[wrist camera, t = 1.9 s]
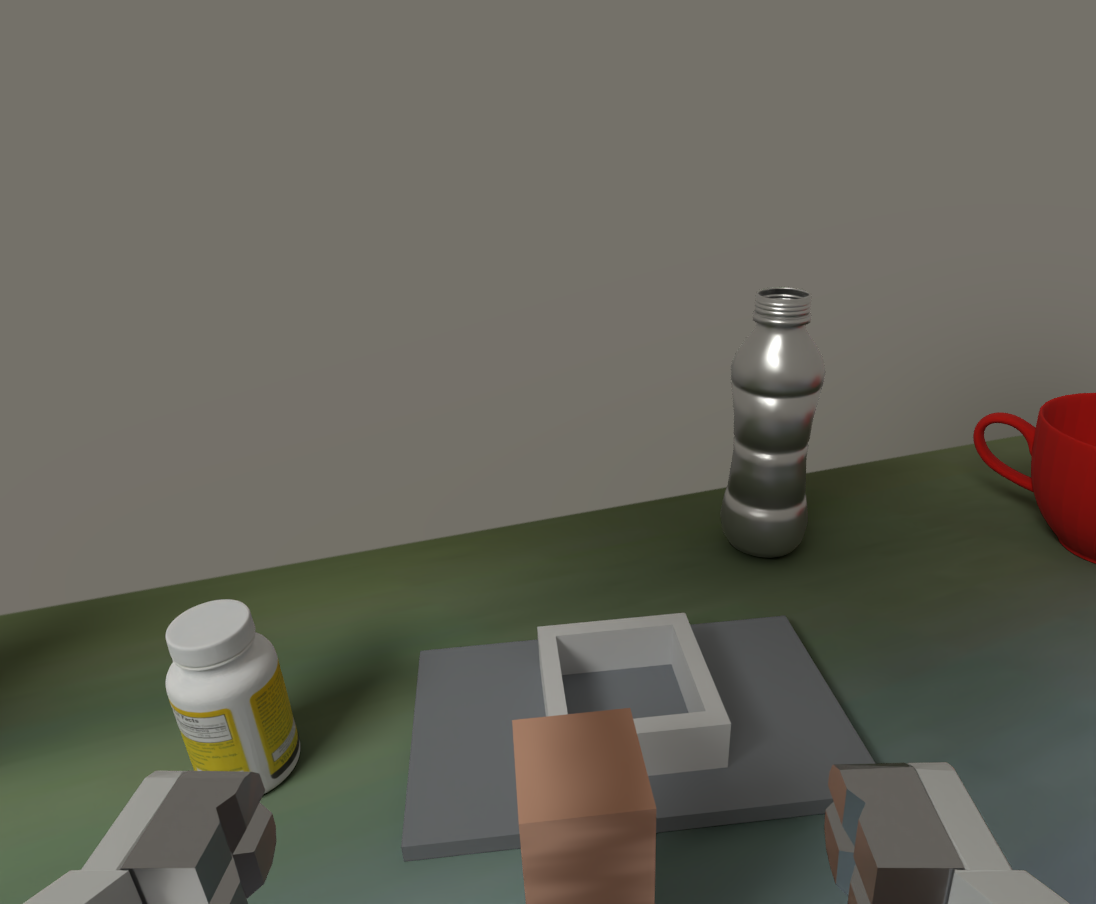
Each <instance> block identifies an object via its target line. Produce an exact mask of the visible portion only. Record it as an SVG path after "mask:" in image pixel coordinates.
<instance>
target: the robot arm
mask: <svg viewBox="0 0 1096 904" xmlns="http://www.w3.org/2000/svg"><path fill="white" fill-rule="evenodd" d="M828 787H829V790H830V793H831V795H832V798H833V801H834V802H833V803H832V804H831V805H830V806H829V807H827V808H826V809H825V825H824V830H825V841H826V850H827V855H828V859H829V864H830V868H831V871H832V874H833V877H834V881H835V884H836V885H837V886H838V887H839V888H840V889H841V890H842V891H843V892H844V893H845V894H846V895H848V904H1070V903H1069V902H1067V901H1066V900H1065V899H1063V898H1062V897H1060V896H1059V895H1058V894H1056V893H1055V892H1054V891H1052V890H1051V889H1050V888H1048V887H1047V886H1046V885H1044V884H1043V883H1042V882H1040V881H1039V880H1037V879H1036V878H1035V877H1033V876H1032V875H1031V874H1029V873H1028V872H1027V871H1025V870H1012V868H1011V866H1010V864H1009V863H1008V861H1007V859H1006V857H1005V856H1004V854H1003V852H1002V850H1001V849H1000V847H999V845H998V843H997V842H996V840H995V838H994V837H993V835H992V833H991V831H990V830H989V828H988V826H987V824H986V823H985V821H984V819H983V817H982V816H981V814H980V812H979V810H978V809H977V807H976V805H975V804H974V802H973V800H972V798H971V797H970V795H969V793H968V791H967V790H966V788H965V786H964V784H963V783H962V781H961V779H960V777H959V776H958V774H957V772H956V771H955V769H954V768H953V767H952V766H951V765H950V764H948V763H947V762H936V763H908V764H906V763H878V764H833V765H832V767H831V770H830V772H829V781H828ZM264 792H265V788H264V785H263V782H262V780H261V777H260V774H259V773H255V772H240V771H155V772H153V773H152V774H150V775H149V776H147V777H146V778H145V779H144V780H143V782H142V783H141V784H140V786H139V787H138V789H137V790H136V792H135V793H134V794H133V796H132V797H131V799H130V800H129V802H128V803H127V804H126V806H125V807H124V809H123V810H122V812H121V813H120V815H119V816H118V817H117V819H116V820H115V822H114V823H113V825H112V826H111V827H110V829H109V830H108V832H107V833H106V835H105V836H104V838H103V839H102V840H101V842H100V843H99V845H98V846H97V848H96V849H95V850H94V852H93V853H92V855H91V856H90V858H89V859H88V861H87V862H86V863H85V865H84V866H83V868H82V869H81V870H70V871H69V872H68V873H66V874H65V875H63V876H62V877H60V878H59V879H57V880H56V881H55V882H53V883H52V884H50V885H49V886H47V887H46V888H45V889H43V890H42V891H40V892H39V893H37V894H36V895H35V896H33V897H32V898H30V899H29V900H27V901H26V902H24V903H23V904H248V902H247V898H248V897H249V896H251V895H252V894H253V893H254V892H255V891H256V890H257V889H259V888H260V887H261V886H262V885H263V884H264V883H265V880H266V878H267V875H268V873H269V871H270V868H271V866H272V862H273V857H274V852H275V846H276V825H275V822H274V818H273V814H272V812H270V811H269V810H268V809H267V808H266V807H264V806H263V805H262V804H261V803H260V800H261V798H262V796H263V794H264Z"/></svg>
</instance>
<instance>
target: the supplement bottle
mask: <svg viewBox="0 0 1096 904" xmlns="http://www.w3.org/2000/svg"><path fill="white" fill-rule="evenodd" d="M166 642H167V645H168V649H169V652H170V655H171V657H172V660H173V663H172V665H171V666H170V668H169V670H168V673H167V676H166V691H167V694H168V698H169V701H170V703H171V706H172V709H173V712H174V715H175V718H176V721H177V723H178V726H179V729H180V732H181V735H182V737H183V740H184V743H185V746H186V749H187V751H188V754H189V757H190V760H191V763H192V766H193V768H194V771H240V772H255V773H259V774H260V777H261V780H262V782H263V785H264V788H265V792H264V794H265V793H267V792H268V791H270V790H272V789H273V788H275V787H276V786H277V785H279V784H280V783H281V782H282V781H283V780H284V779H285V778H286V777H287V776H288V775H289V774H290V773H291V772H292V770H293V769H294V767H295V765H296V763H297V761H298V759H299V755H300V740H299V735H298V732H297V728H296V724H295V721H294V718H293V714H292V710H291V706H290V702H289V698H288V695H287V691H286V687H285V683H284V680H283V676H282V672H281V669H280V665H279V661H278V657H277V654H276V651H275V649H274V647H273V645H272V644H271V642H270V641H269V640H268V639H267V638H266V637H264V636H263V635H261V634H259V633H256V632H255V625H254V622H253V619H252V616H251V613H250V610H249V608H248V607H247V606H246V605H245V604H244V603H242V602H240V601H237V600H231V599H223V600H215V601H210V602H206V603H203V604H200V605H197V606H195V607H192V608H190V609H188V610H187V611H185V612H183V613H182V614H180V615H179V616H178V617H177V618H176V619H174V620H173V621H172V623H171V624H170V625H169V627H168V629H167V631H166Z"/></svg>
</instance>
